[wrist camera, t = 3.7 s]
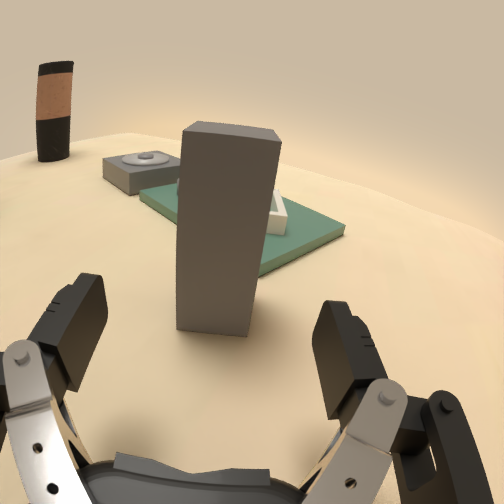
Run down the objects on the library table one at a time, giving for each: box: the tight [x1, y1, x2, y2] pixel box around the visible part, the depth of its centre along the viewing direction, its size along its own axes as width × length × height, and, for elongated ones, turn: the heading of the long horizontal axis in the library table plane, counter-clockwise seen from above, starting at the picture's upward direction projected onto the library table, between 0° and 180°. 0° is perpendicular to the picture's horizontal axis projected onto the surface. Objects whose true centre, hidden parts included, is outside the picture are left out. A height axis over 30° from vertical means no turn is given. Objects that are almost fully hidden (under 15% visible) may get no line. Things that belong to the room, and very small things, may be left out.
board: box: [140, 179, 346, 277], centre depth 35 cm, size 20×15×3 cm
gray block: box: [176, 121, 282, 337], centre depth 18 cm, size 4×5×12 cm
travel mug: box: [36, 61, 74, 162], centre depth 46 cm, size 8×8×20 cm
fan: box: [103, 151, 180, 196], centre depth 42 cm, size 10×10×4 cm
